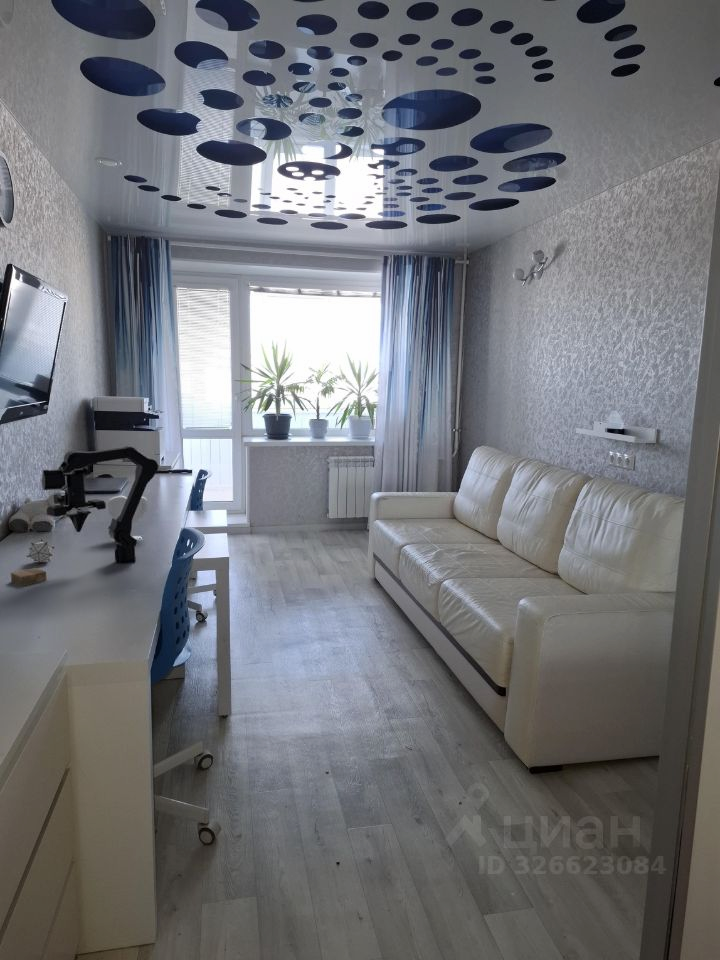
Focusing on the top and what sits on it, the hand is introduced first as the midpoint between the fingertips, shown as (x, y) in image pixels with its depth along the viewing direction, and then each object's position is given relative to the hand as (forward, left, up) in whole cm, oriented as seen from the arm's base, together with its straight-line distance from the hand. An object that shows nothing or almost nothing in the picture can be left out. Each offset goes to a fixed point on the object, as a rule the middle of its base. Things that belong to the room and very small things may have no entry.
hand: (78, 531), depth 224 cm
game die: (+14, -11, -13) cm, 22 cm away
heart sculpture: (-15, -40, -13) cm, 45 cm away
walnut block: (+11, +9, -12) cm, 18 cm away
